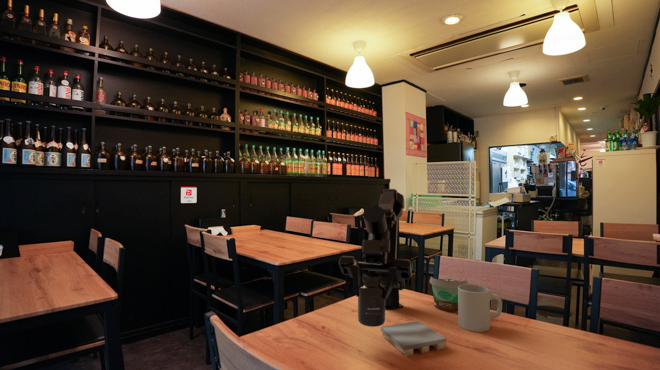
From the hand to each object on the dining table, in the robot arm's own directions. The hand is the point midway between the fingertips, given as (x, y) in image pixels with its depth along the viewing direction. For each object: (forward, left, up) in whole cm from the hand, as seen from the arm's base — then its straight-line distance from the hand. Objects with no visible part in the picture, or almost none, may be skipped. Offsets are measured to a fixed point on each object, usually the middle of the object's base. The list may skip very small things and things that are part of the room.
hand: (370, 297), depth 83 cm
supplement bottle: (-1, +1, -7) cm, 7 cm away
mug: (-3, +36, -13) cm, 39 cm away
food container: (-17, +36, -13) cm, 42 cm away
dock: (-1, +12, -13) cm, 18 cm away
